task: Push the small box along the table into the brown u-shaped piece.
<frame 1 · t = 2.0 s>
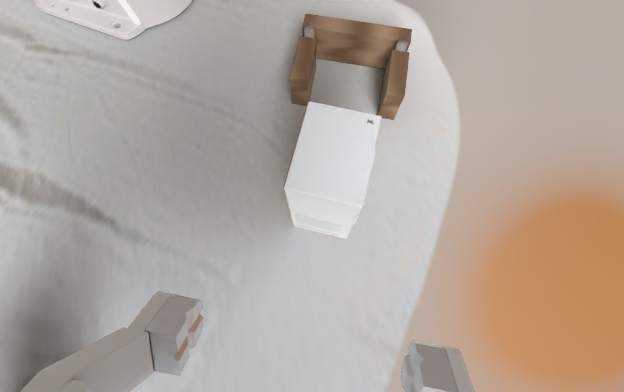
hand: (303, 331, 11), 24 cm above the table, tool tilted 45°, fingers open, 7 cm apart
small box: (326, 200, 37), on the table
brown u-shaped piece: (345, 91, 42), on the table
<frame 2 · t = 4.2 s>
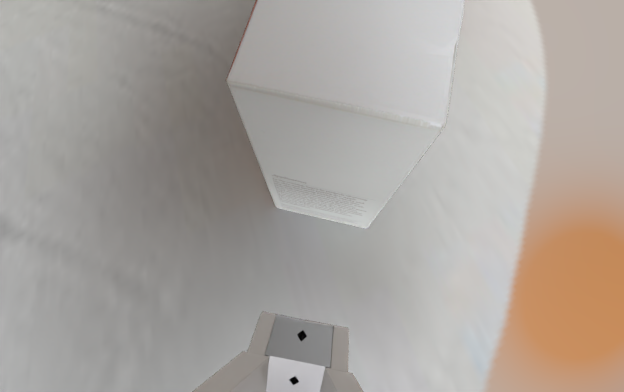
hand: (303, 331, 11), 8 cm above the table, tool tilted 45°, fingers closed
small box: (332, 166, 22), on the table
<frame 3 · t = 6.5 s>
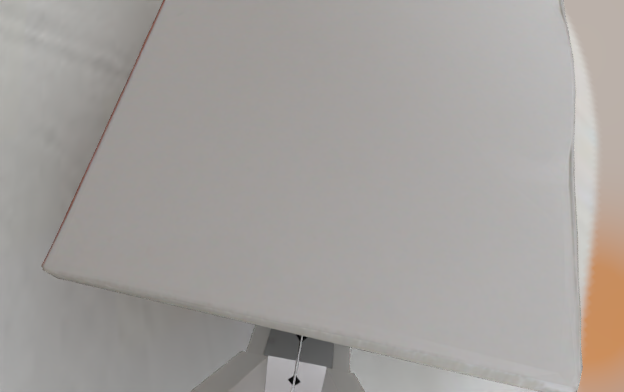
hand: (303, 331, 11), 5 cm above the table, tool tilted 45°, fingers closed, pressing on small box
small box: (323, 231, 17), on the table, touching gripper
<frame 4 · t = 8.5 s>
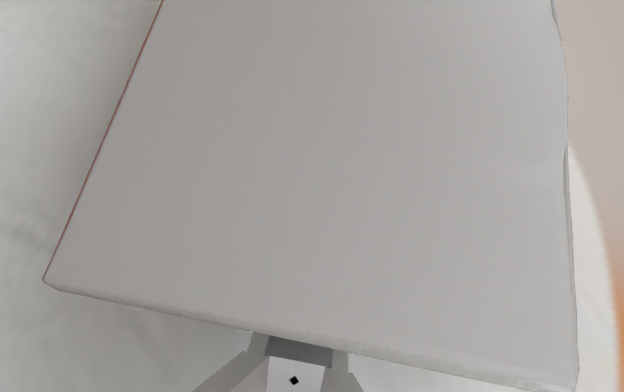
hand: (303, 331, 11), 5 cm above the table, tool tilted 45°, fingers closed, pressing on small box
small box: (321, 232, 17), on the table, touching gripper
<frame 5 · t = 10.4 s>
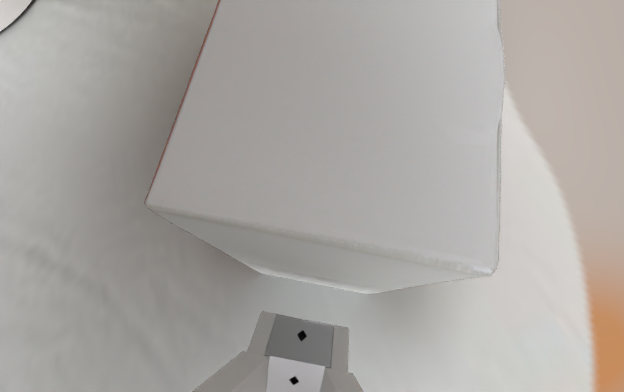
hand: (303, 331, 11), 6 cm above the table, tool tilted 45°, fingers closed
small box: (324, 216, 19), on the table
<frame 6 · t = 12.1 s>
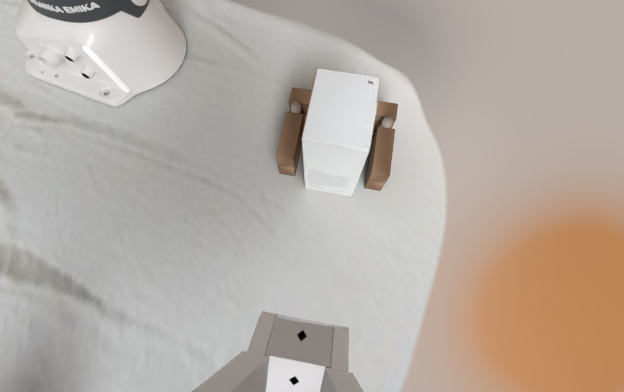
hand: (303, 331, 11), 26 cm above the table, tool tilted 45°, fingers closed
small box: (332, 165, 42), on the table
brown u-shaped piece: (333, 160, 42), on the table
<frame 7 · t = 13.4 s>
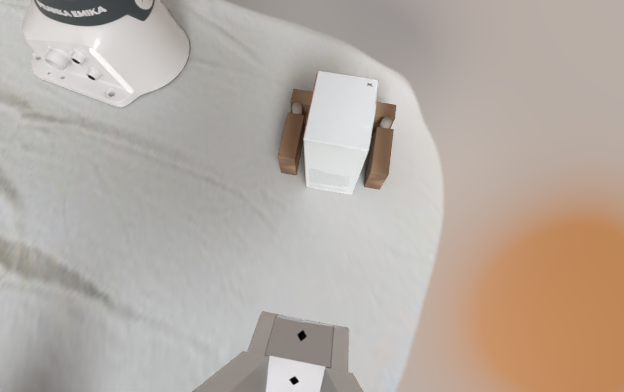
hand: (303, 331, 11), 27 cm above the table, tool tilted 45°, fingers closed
small box: (333, 164, 43), on the table
brown u-shaped piece: (333, 160, 43), on the table
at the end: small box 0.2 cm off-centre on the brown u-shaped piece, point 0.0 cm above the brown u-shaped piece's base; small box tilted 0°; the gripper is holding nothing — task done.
